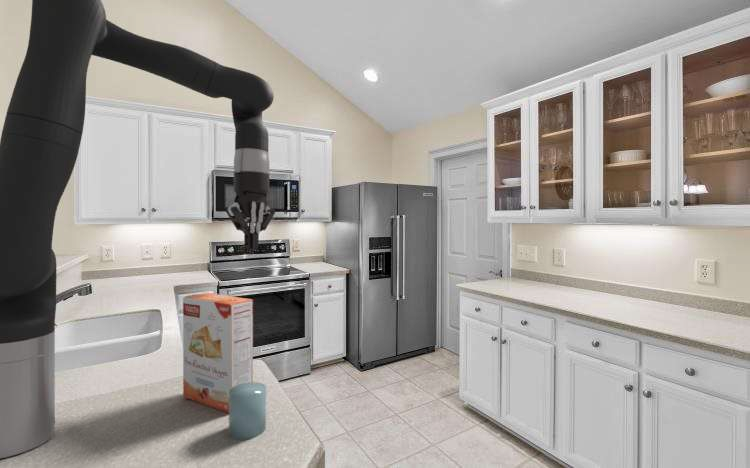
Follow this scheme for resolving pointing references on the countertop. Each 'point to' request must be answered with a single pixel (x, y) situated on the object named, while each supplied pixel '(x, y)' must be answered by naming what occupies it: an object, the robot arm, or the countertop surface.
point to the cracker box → (216, 347)
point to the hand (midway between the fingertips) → (251, 250)
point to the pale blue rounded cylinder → (247, 410)
